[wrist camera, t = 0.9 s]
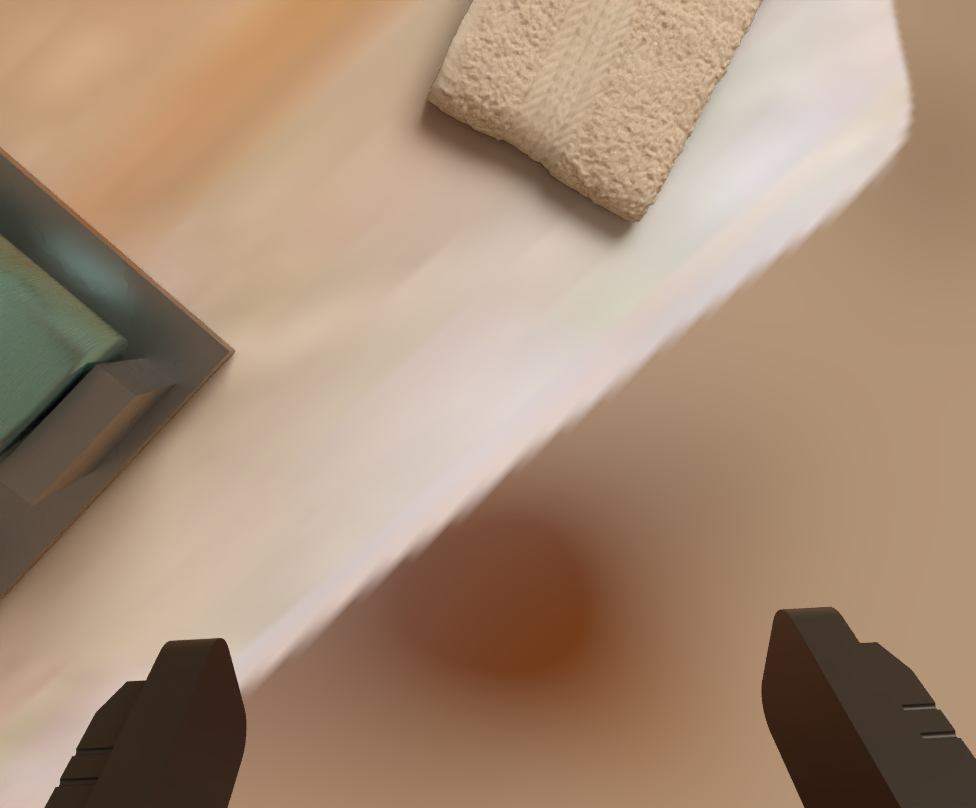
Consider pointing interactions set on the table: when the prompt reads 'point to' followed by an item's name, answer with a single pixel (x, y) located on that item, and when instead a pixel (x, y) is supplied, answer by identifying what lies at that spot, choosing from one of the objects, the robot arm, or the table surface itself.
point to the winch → (78, 366)
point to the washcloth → (592, 85)
